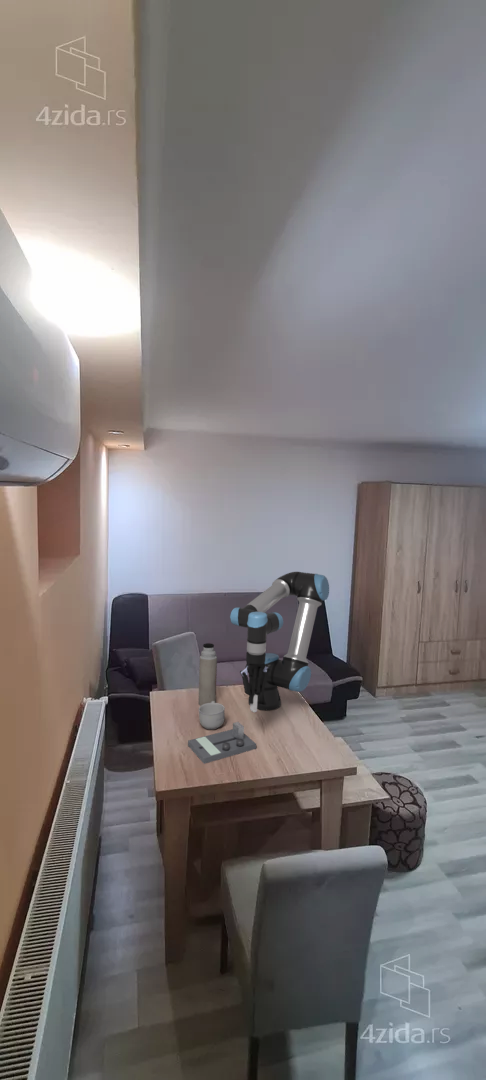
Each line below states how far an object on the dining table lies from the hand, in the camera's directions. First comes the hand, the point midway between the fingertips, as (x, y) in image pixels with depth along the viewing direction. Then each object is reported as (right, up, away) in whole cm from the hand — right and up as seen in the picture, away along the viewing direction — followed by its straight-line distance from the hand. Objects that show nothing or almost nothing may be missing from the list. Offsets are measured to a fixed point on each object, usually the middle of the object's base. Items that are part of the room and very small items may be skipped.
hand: (253, 710), depth 182 cm
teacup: (-17, -10, +12) cm, 23 cm away
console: (-12, -12, -6) cm, 18 cm away
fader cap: (-6, -10, -2) cm, 12 cm away
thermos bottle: (-21, -9, +32) cm, 39 cm away
